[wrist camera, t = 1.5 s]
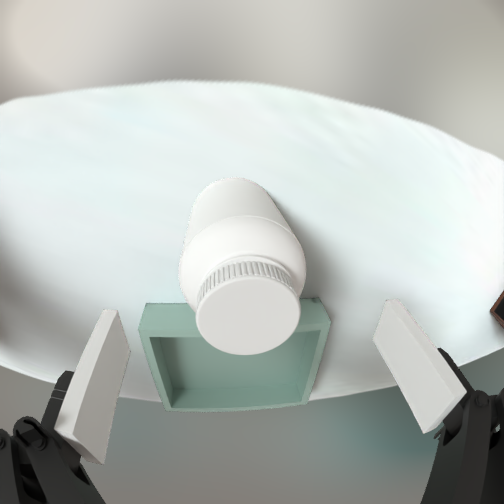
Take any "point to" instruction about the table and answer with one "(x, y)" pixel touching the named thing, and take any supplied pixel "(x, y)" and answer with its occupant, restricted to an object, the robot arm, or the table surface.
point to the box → (230, 363)
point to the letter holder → (499, 309)
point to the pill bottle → (241, 268)
